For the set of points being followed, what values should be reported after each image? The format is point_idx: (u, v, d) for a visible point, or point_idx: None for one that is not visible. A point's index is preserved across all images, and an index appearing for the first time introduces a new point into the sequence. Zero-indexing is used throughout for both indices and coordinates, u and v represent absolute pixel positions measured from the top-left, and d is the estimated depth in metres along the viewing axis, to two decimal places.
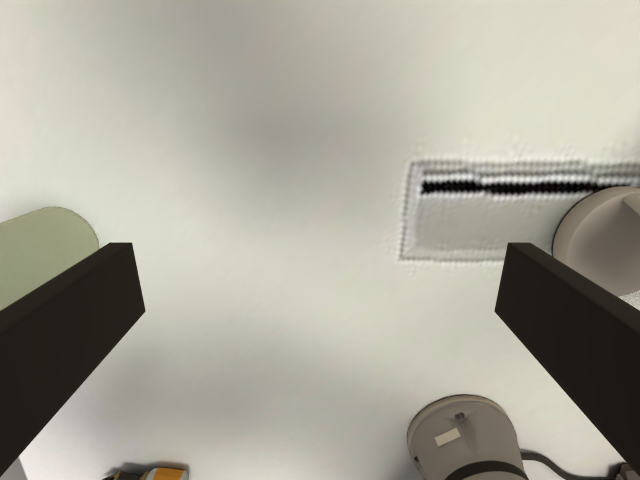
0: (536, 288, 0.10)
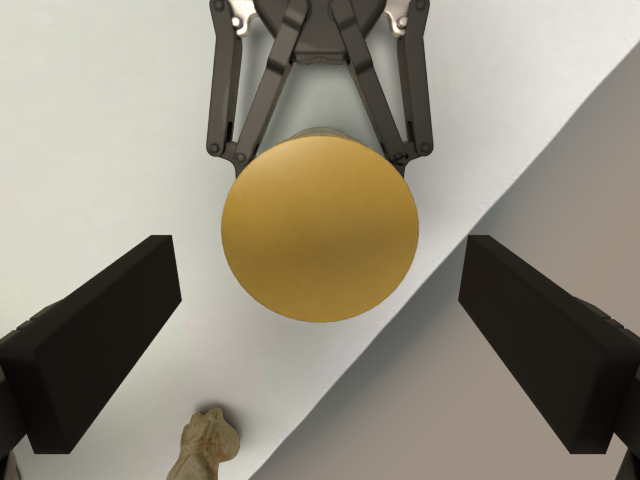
0: (488, 277, 0.11)
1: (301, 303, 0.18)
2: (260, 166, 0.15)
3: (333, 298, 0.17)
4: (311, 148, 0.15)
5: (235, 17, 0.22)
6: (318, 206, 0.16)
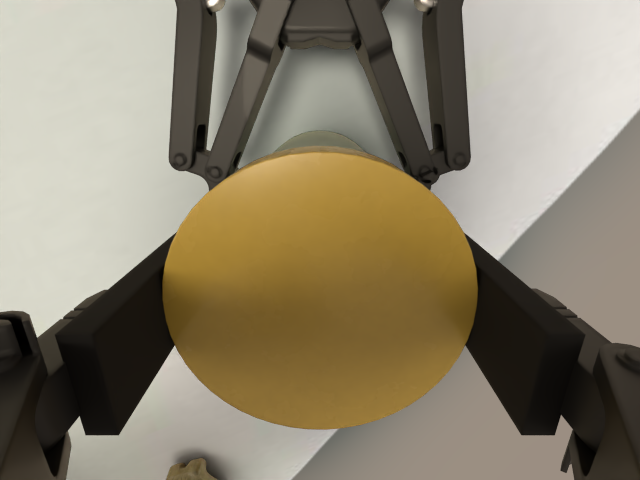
0: None
1: (291, 404, 0.11)
2: (221, 202, 0.09)
3: (340, 397, 0.11)
4: (305, 172, 0.09)
5: None
6: (317, 264, 0.10)
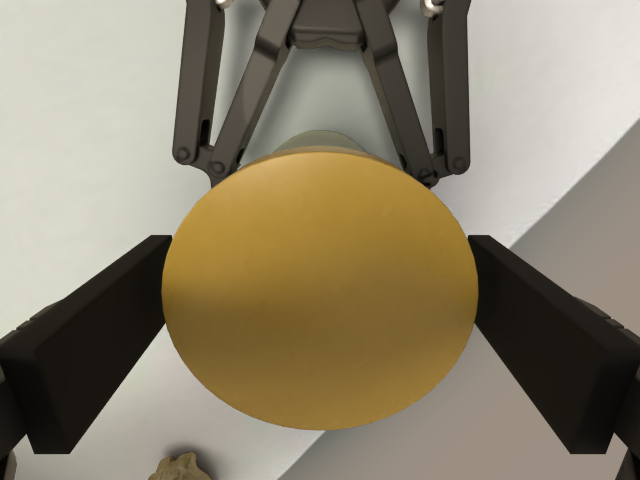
0: (488, 277, 0.11)
1: (425, 355, 0.11)
2: (200, 367, 0.11)
3: (431, 310, 0.10)
4: (179, 301, 0.10)
5: None
6: (267, 306, 0.10)
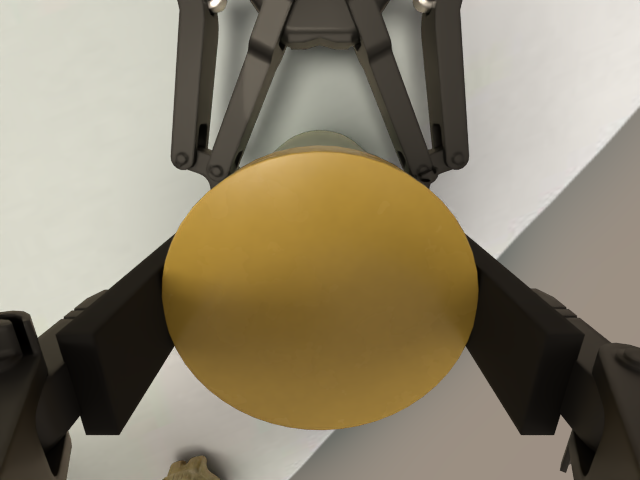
0: None
1: (427, 352, 0.11)
2: (203, 370, 0.11)
3: (431, 306, 0.10)
4: (179, 305, 0.10)
5: None
6: (267, 307, 0.10)
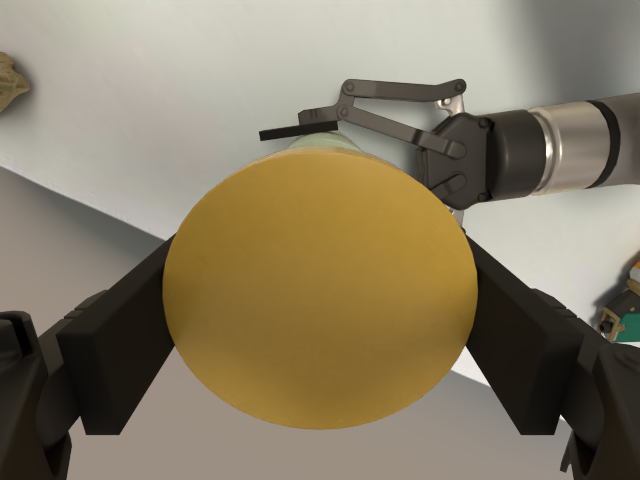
0: None
1: (427, 352, 0.11)
2: (203, 370, 0.11)
3: (431, 306, 0.10)
4: (180, 305, 0.10)
5: (450, 101, 0.28)
6: (268, 307, 0.10)
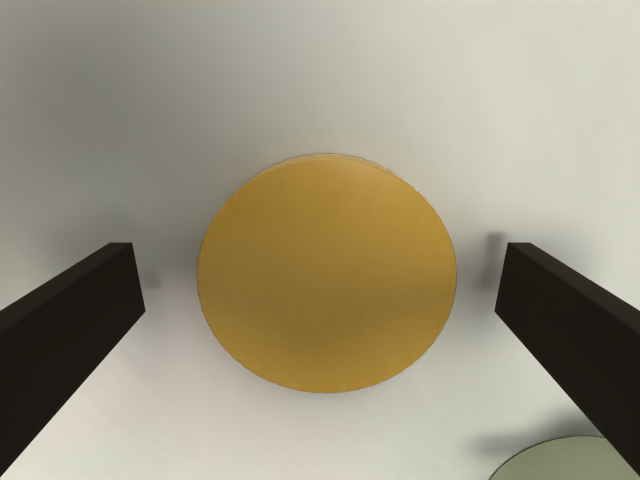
0: (536, 288, 0.10)
1: (415, 325, 0.13)
2: (229, 340, 0.13)
3: (418, 285, 0.12)
4: (211, 284, 0.12)
5: None
6: (283, 286, 0.12)
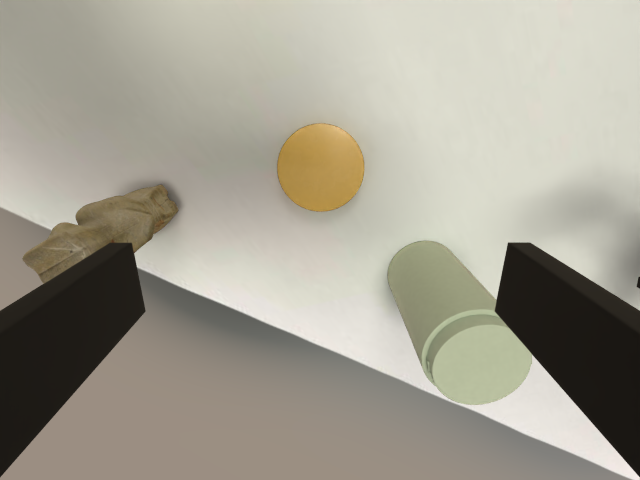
0: (536, 288, 0.10)
1: (351, 182, 0.38)
2: (287, 189, 0.38)
3: (351, 167, 0.37)
4: (282, 167, 0.37)
5: None
6: (306, 168, 0.37)
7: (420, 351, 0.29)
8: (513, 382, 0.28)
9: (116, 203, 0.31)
